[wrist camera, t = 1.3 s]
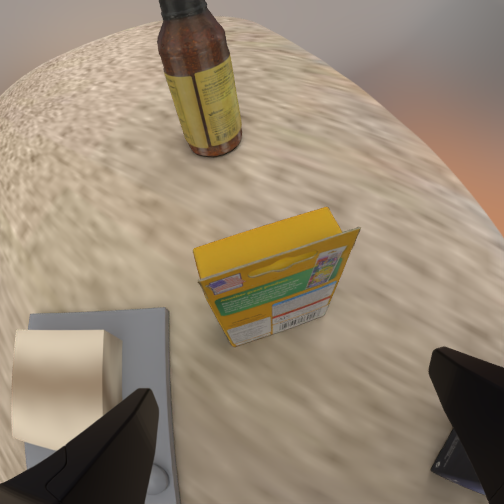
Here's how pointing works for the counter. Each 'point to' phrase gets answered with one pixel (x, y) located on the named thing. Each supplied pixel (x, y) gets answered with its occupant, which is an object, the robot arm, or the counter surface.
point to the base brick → (63, 383)
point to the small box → (456, 465)
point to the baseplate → (131, 380)
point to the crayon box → (274, 274)
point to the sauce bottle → (200, 76)
